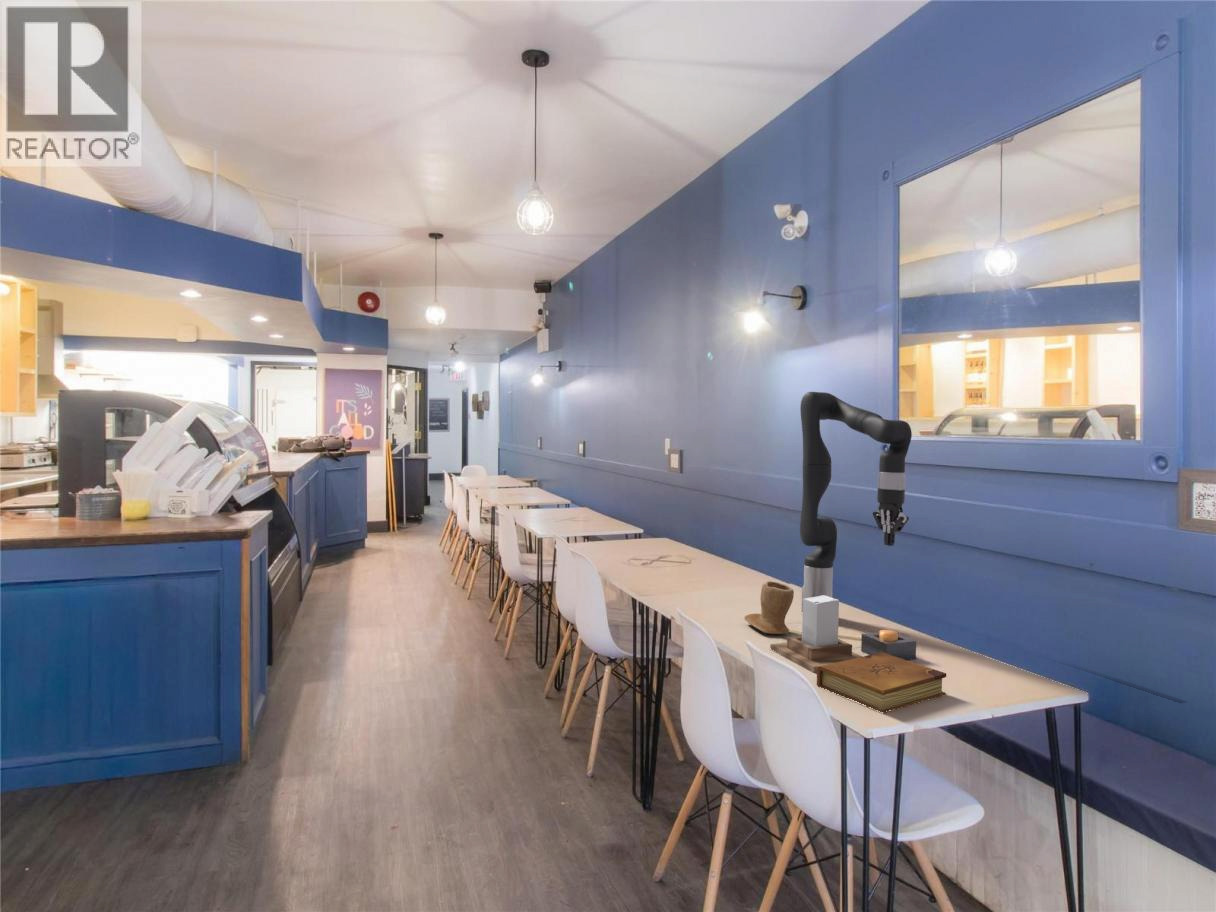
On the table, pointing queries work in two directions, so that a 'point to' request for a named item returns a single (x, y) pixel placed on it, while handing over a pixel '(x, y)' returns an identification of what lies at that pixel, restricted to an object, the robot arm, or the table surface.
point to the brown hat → (772, 608)
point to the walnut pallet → (814, 653)
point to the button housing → (889, 646)
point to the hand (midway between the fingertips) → (889, 545)
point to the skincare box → (820, 621)
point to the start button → (888, 635)
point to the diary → (881, 681)
